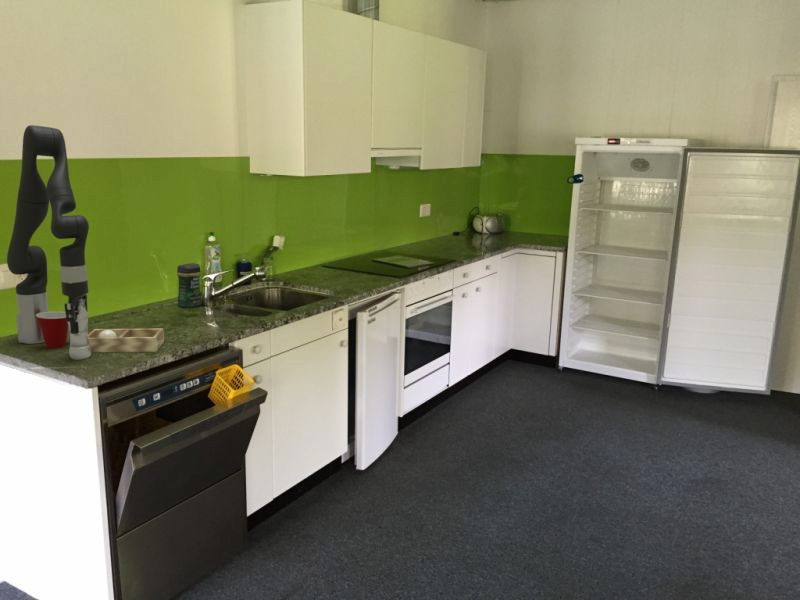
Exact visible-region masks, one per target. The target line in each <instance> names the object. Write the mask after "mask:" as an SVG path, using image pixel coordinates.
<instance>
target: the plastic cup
mask: <svg viewBox="0 0 800 600" xmlns="http://www.w3.org/2000/svg"><path fill="white" fill-rule="evenodd" d="M36 317H37V318H38V321H39V324H40V327H41V331H42V334H43V338H44V340H45V342H44V344H45V347H46V348H49V349H58V348H62V347H65V346H66V345H67V341H68V340H67V339H68V331H69V326H68V322H67V321H66V313H65V311H48V312H43V313H38V314H36Z"/></svg>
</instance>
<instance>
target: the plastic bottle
mask: <svg viewBox="0 0 800 600" xmlns="http://www.w3.org/2000/svg"><path fill="white" fill-rule="evenodd" d="M79 301H82V298H81V299H80V300H79ZM82 304H83V302H82ZM75 312H77V311H75ZM75 316H76V315H75ZM71 318H73V316H71ZM88 323H89V313H88V312H87V311H86V309H85V308H84V307H83V306H81V311H80V315H78V327H79V333H78V334H71V329H70V322H68V331H69V349H68V350H69V351H68V354H69V357H70V359H71V360H76V361H80V360H81V361H82V360H86V359H89V358H90V357H91V355H92V353H91V347H90V344H89V339H88V334H89V333H88V332H89V331H88V329H89V328H88Z"/></svg>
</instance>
